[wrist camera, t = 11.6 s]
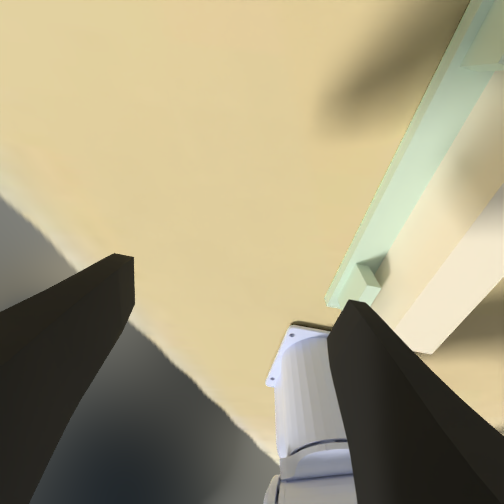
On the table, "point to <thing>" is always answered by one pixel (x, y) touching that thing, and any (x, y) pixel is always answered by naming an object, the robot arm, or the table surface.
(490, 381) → the table surface
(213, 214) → the table surface
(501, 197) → the clay strip
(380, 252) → the strip rack
